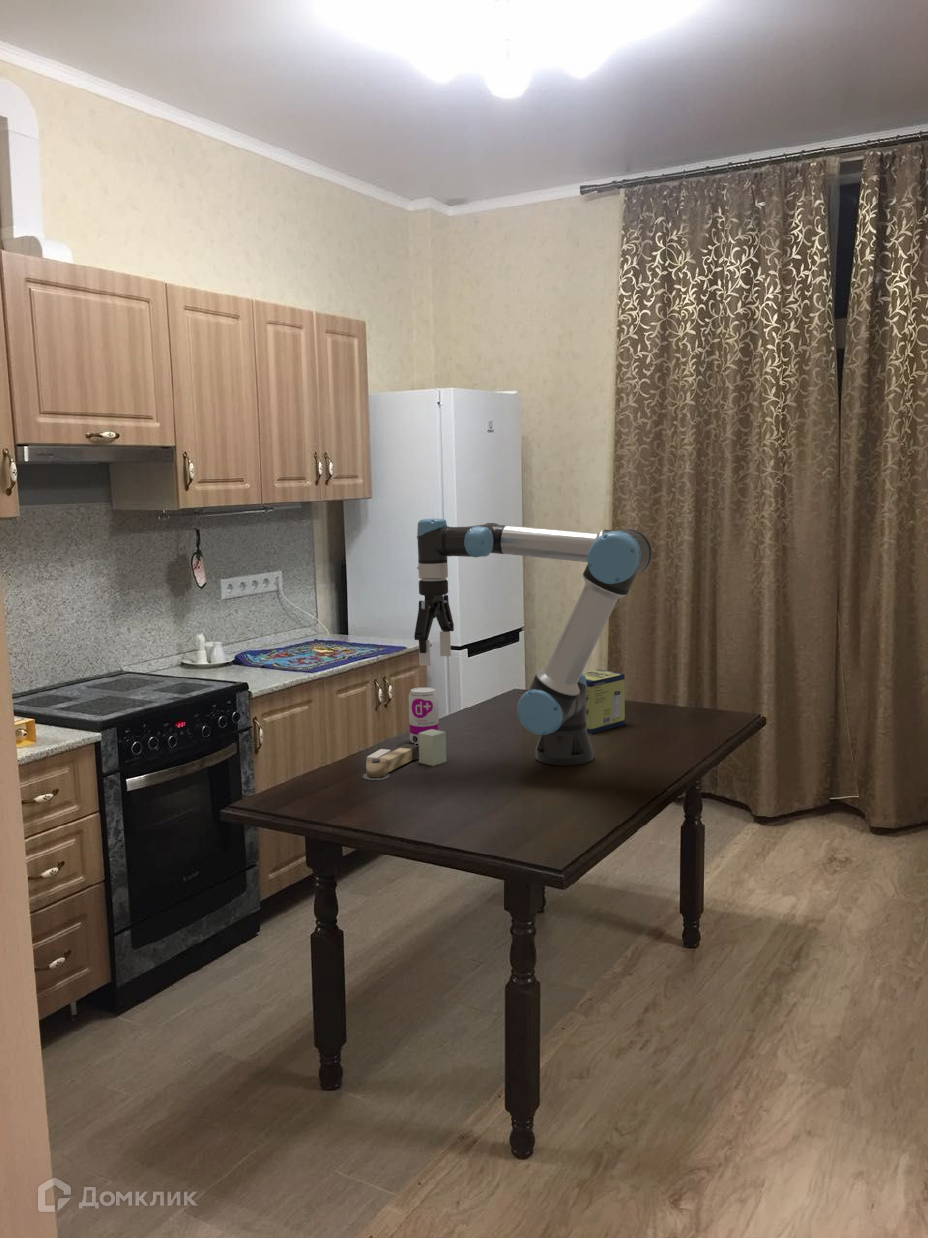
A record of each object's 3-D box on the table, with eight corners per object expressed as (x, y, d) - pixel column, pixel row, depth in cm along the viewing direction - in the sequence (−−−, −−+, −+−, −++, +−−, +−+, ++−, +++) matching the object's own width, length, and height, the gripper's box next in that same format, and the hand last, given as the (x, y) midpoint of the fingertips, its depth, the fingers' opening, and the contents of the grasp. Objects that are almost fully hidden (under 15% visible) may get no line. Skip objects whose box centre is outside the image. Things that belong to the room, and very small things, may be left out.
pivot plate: (395, 773, 263) (395, 772, 263) (383, 781, 257) (383, 780, 257) (370, 771, 266) (370, 770, 266) (357, 779, 260) (357, 778, 260)
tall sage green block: (446, 761, 273) (445, 732, 272) (433, 766, 270) (432, 735, 268) (432, 758, 277) (431, 729, 275) (419, 762, 273) (418, 733, 272)
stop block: (391, 761, 274) (390, 750, 274) (377, 770, 267) (377, 758, 266) (380, 760, 275) (380, 749, 275) (367, 769, 268) (366, 757, 268)
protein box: (563, 728, 305) (563, 676, 303) (598, 719, 316) (598, 668, 313) (591, 734, 298) (590, 681, 295) (625, 724, 308) (625, 673, 306)
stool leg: (379, 778, 258) (379, 763, 258) (362, 776, 260) (362, 761, 260) (420, 757, 276) (420, 743, 275) (404, 755, 278) (404, 741, 278)
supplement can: (435, 746, 289) (434, 693, 286) (406, 745, 290) (405, 692, 288) (442, 738, 296) (440, 687, 294) (413, 738, 298) (412, 686, 296)
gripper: (438, 574, 281) (440, 651, 284) (399, 584, 258) (401, 668, 261) (464, 574, 278) (466, 653, 281) (427, 584, 255) (429, 670, 258)
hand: (435, 660), depth 271 cm, fingers open, 13 cm apart
